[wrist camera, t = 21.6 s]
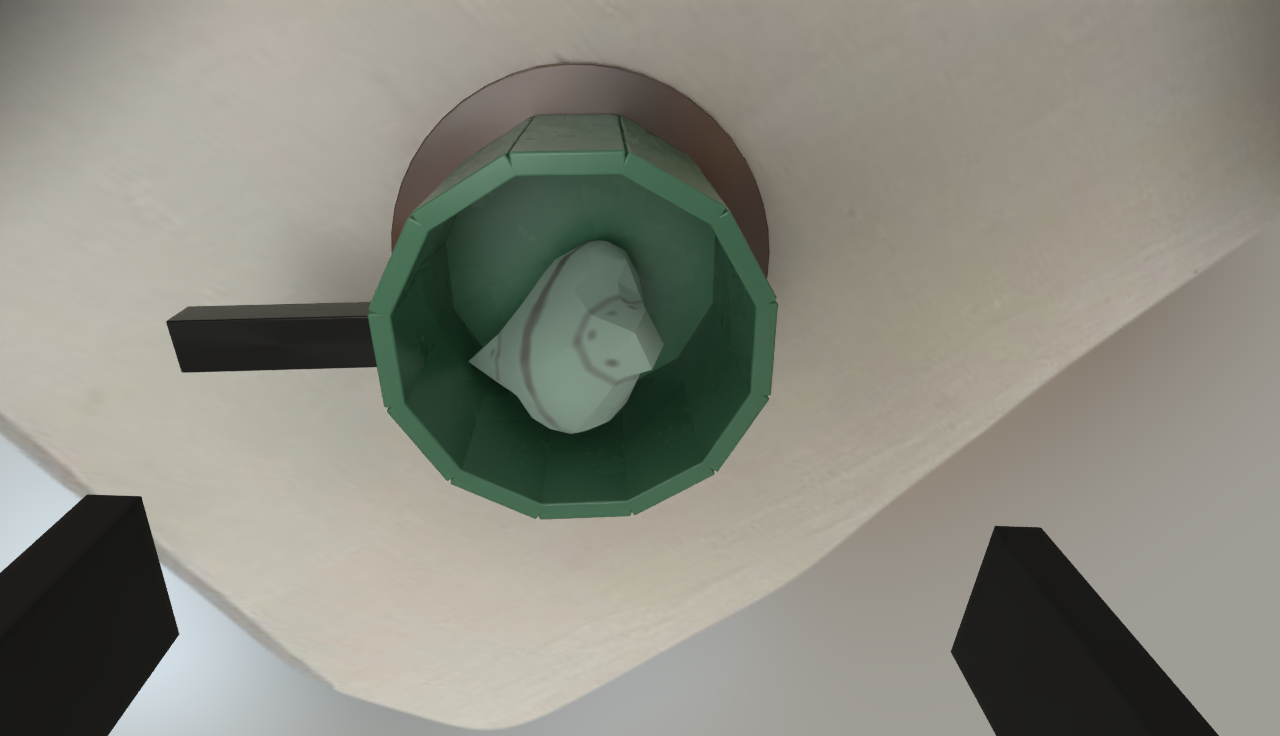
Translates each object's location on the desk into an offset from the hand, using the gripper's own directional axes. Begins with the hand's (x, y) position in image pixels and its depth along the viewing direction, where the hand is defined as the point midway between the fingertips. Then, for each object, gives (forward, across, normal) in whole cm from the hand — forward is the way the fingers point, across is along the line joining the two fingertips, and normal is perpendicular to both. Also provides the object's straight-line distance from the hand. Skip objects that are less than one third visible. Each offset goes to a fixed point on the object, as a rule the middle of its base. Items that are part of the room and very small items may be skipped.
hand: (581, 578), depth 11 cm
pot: (+17, -3, 0) cm, 17 cm away
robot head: (+16, 0, +1) cm, 16 cm away
